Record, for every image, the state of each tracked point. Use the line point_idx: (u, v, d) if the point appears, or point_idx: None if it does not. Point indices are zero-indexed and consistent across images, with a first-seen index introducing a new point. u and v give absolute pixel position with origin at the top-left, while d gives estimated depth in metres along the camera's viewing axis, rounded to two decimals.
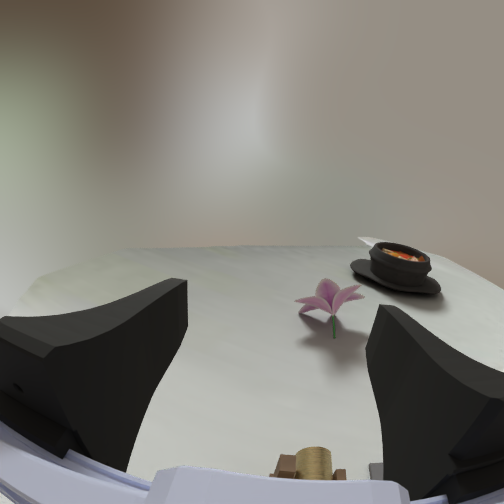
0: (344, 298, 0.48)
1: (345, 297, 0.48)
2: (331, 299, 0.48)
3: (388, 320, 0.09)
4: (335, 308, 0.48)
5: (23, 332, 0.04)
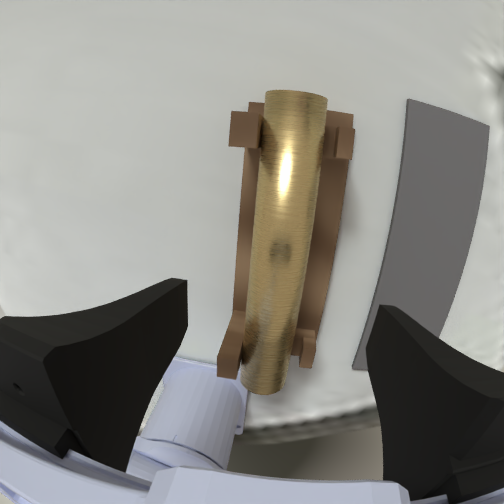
0: None
1: None
2: None
3: (388, 320, 0.09)
4: None
5: (23, 332, 0.04)
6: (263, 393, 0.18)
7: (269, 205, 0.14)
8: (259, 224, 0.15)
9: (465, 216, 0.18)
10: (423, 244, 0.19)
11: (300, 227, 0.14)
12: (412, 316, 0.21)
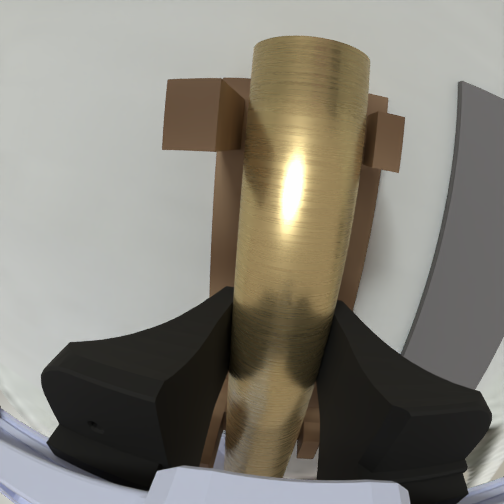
0: None
1: None
2: None
3: None
4: None
5: (111, 365, 0.04)
6: None
7: (271, 268, 0.07)
8: (249, 301, 0.08)
9: None
10: (471, 289, 0.12)
11: (326, 302, 0.08)
12: (445, 376, 0.14)
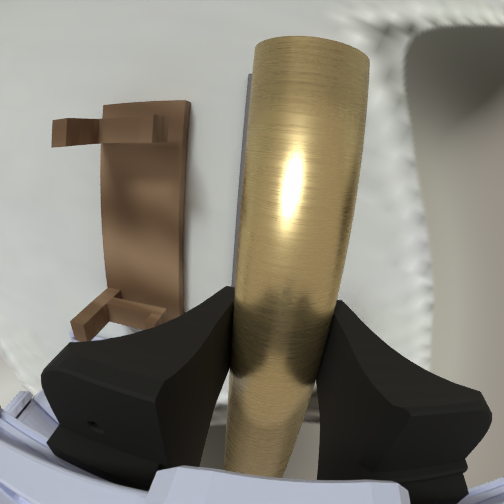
0: None
1: None
2: None
3: None
4: None
5: (111, 365, 0.04)
6: None
7: (275, 266, 0.07)
8: (252, 299, 0.08)
9: None
10: None
11: (329, 298, 0.08)
12: None
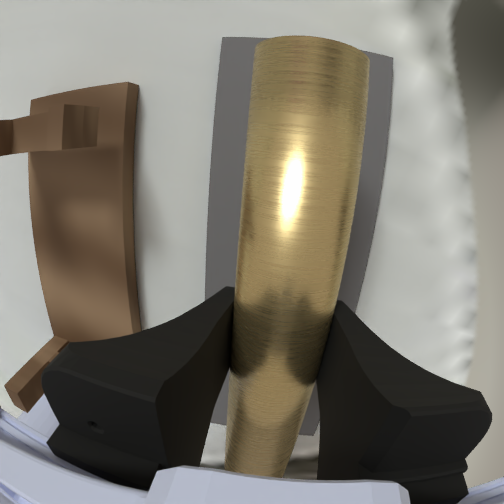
0: None
1: None
2: None
3: None
4: None
5: (111, 365, 0.04)
6: None
7: (275, 266, 0.07)
8: (252, 299, 0.08)
9: None
10: None
11: (329, 298, 0.08)
12: None
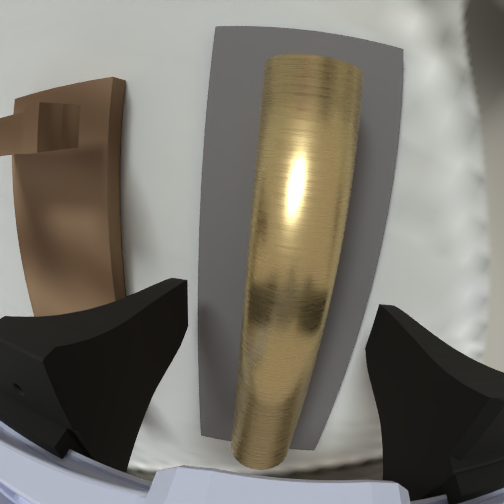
0: None
1: None
2: None
3: (388, 320, 0.09)
4: None
5: (24, 332, 0.04)
6: (270, 467, 0.13)
7: (286, 248, 0.08)
8: (265, 278, 0.09)
9: (356, 225, 0.11)
10: None
11: (330, 276, 0.09)
12: None
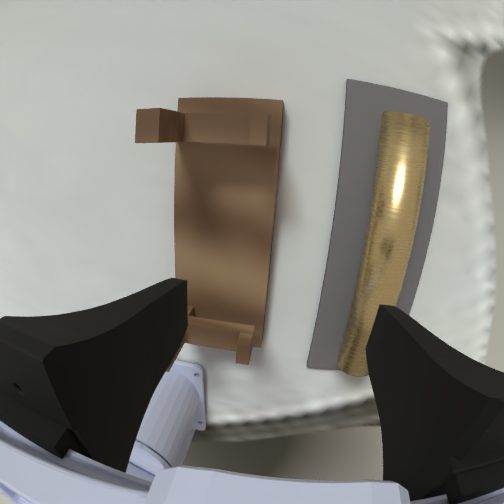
0: None
1: None
2: None
3: (388, 320, 0.09)
4: None
5: (23, 332, 0.04)
6: (365, 374, 0.19)
7: (395, 209, 0.15)
8: (383, 226, 0.16)
9: (422, 203, 0.18)
10: None
11: (414, 227, 0.16)
12: None
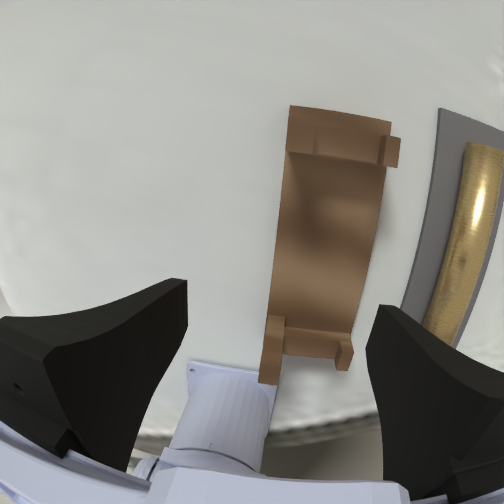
0: None
1: None
2: None
3: (388, 320, 0.09)
4: None
5: (23, 332, 0.04)
6: None
7: (475, 227, 0.16)
8: (464, 241, 0.16)
9: None
10: None
11: (487, 243, 0.16)
12: None
